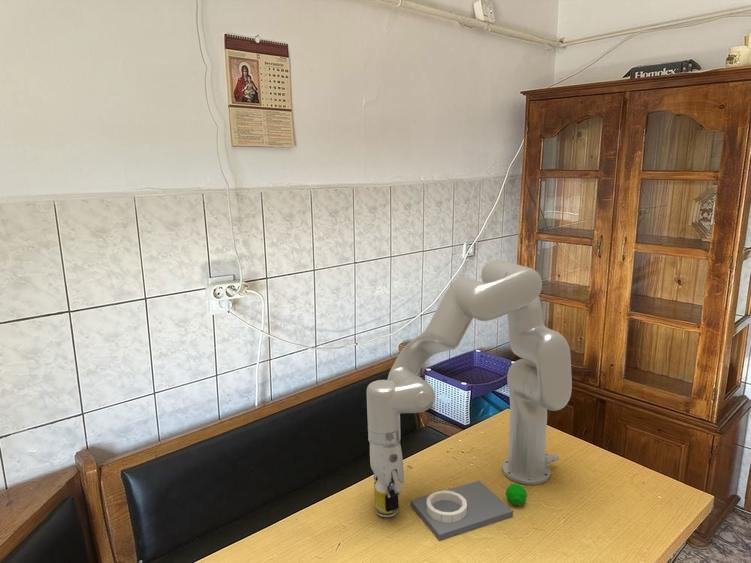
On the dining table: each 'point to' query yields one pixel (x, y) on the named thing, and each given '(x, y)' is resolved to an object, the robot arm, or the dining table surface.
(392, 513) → the supplement bottle
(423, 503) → the pin board
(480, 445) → the dining table surface
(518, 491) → the polyhedron
